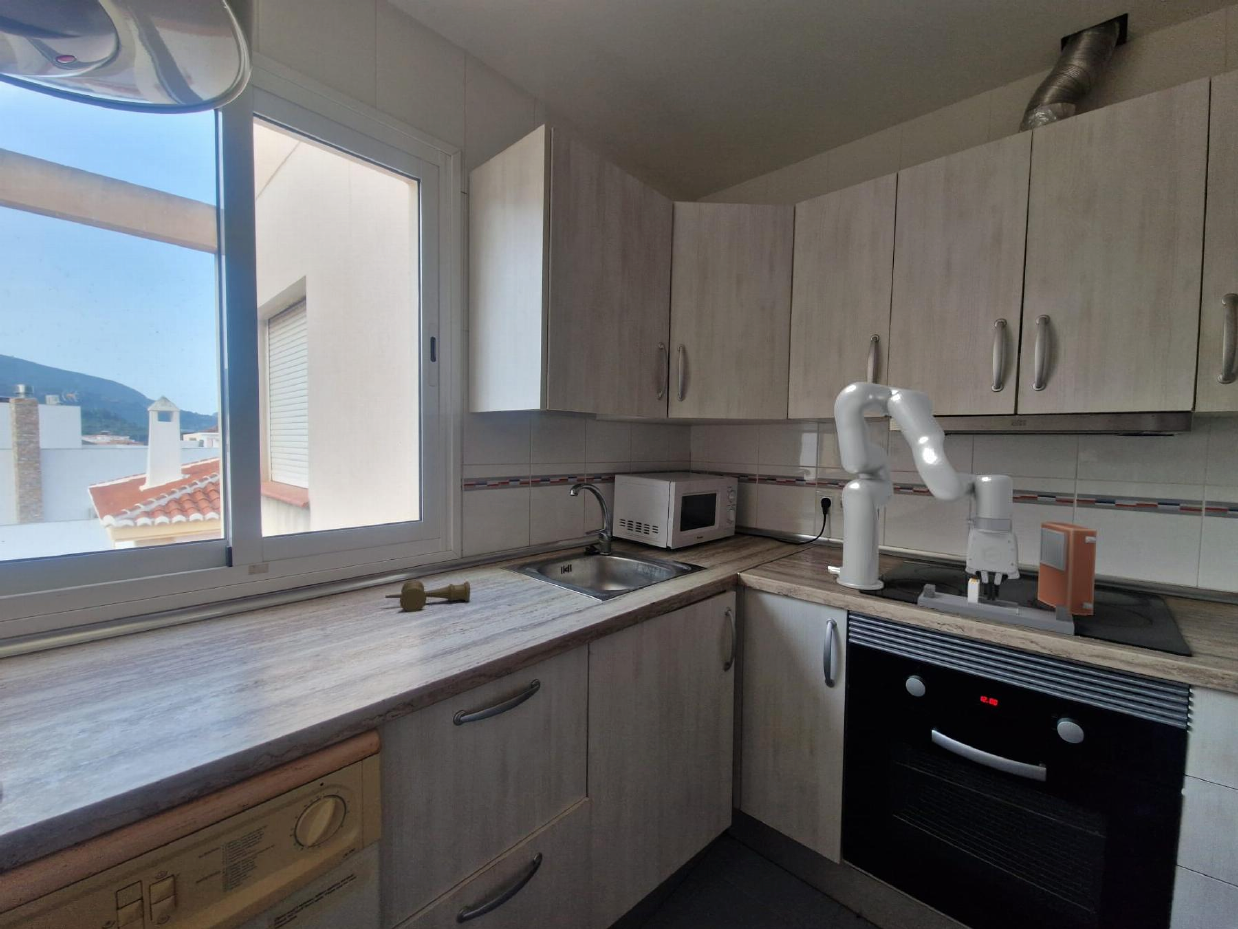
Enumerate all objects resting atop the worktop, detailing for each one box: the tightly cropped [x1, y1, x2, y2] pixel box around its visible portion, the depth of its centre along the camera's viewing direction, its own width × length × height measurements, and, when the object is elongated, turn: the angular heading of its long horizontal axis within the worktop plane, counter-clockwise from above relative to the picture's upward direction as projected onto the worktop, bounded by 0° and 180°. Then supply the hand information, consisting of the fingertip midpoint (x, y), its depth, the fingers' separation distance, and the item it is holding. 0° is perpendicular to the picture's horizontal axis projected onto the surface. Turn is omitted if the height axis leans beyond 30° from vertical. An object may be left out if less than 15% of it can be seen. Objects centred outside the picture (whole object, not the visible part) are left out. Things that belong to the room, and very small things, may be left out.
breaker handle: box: [967, 578, 981, 603], centre depth 126 cm, size 2×4×6 cm, turn 140°
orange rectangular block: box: [1037, 521, 1098, 616], centre depth 130 cm, size 21×7×15 cm
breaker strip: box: [917, 583, 1075, 636], centre depth 124 cm, size 30×10×4 cm, turn 50°
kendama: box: [384, 579, 471, 613], centre depth 126 cm, size 6×10×20 cm
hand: (991, 598), depth 124 cm, fingers closed
